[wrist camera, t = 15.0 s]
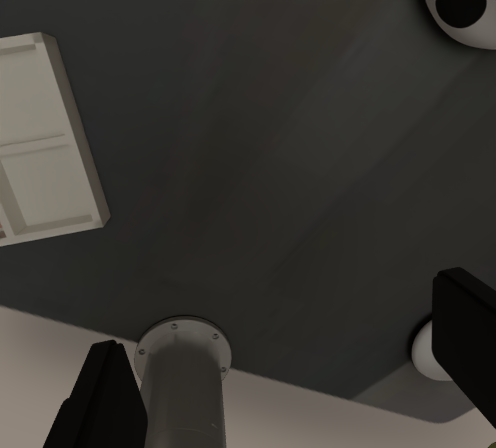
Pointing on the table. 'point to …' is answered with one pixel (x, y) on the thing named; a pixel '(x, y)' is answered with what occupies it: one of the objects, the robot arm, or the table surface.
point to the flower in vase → (429, 358)
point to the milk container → (467, 20)
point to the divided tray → (43, 147)
